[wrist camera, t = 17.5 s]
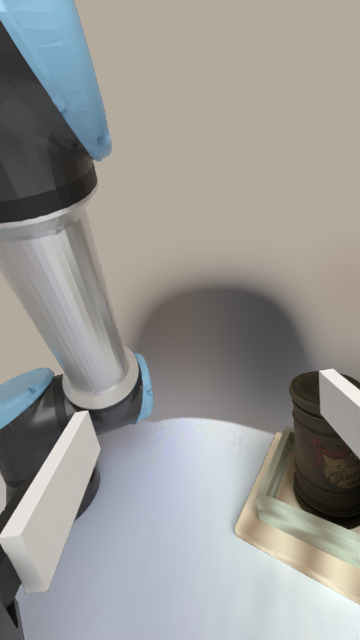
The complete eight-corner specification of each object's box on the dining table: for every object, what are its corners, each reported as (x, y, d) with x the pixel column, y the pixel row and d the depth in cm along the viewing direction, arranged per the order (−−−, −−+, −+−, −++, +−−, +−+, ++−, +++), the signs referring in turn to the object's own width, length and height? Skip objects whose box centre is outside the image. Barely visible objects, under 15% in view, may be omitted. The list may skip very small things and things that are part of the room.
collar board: (236, 536, 36) (230, 506, 34) (277, 438, 51) (275, 414, 49) (440, 649, 24) (445, 610, 22) (414, 477, 39) (417, 447, 37)
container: (281, 491, 39) (270, 386, 34) (321, 461, 42) (317, 362, 37) (339, 547, 31) (337, 421, 26) (383, 506, 34) (388, 387, 29)
